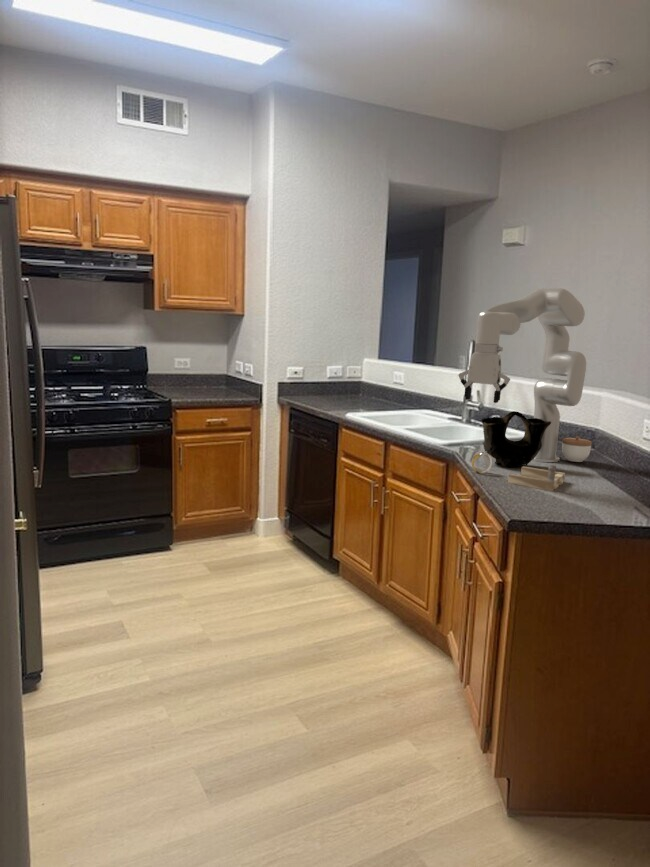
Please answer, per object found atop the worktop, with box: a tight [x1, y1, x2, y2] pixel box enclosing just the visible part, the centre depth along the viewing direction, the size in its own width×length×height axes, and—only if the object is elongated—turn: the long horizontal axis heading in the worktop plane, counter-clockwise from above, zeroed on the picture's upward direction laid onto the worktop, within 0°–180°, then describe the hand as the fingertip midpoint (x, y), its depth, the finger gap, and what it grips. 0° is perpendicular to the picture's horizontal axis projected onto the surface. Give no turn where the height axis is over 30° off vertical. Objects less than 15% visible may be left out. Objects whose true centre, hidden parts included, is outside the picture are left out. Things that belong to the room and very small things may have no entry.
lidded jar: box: [561, 435, 593, 463], centre depth 250 cm, size 11×11×9 cm
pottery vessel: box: [480, 411, 551, 468], centre depth 236 cm, size 25×11×20 cm, turn 91°
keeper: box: [507, 464, 566, 492], centre depth 212 cm, size 18×14×8 cm
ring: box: [470, 449, 493, 474], centre depth 223 cm, size 7×3×8 cm, turn 89°
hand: (481, 400), depth 218 cm, fingers open, 9 cm apart
